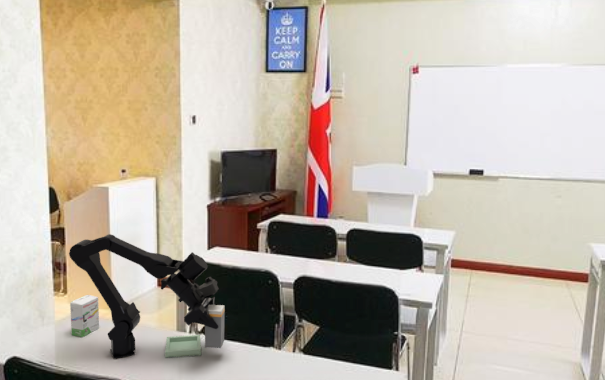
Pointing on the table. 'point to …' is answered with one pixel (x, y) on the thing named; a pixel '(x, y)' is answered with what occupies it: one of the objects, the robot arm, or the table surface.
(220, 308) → the grey tall block
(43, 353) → the table surface
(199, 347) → the tray
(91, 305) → the ink box
